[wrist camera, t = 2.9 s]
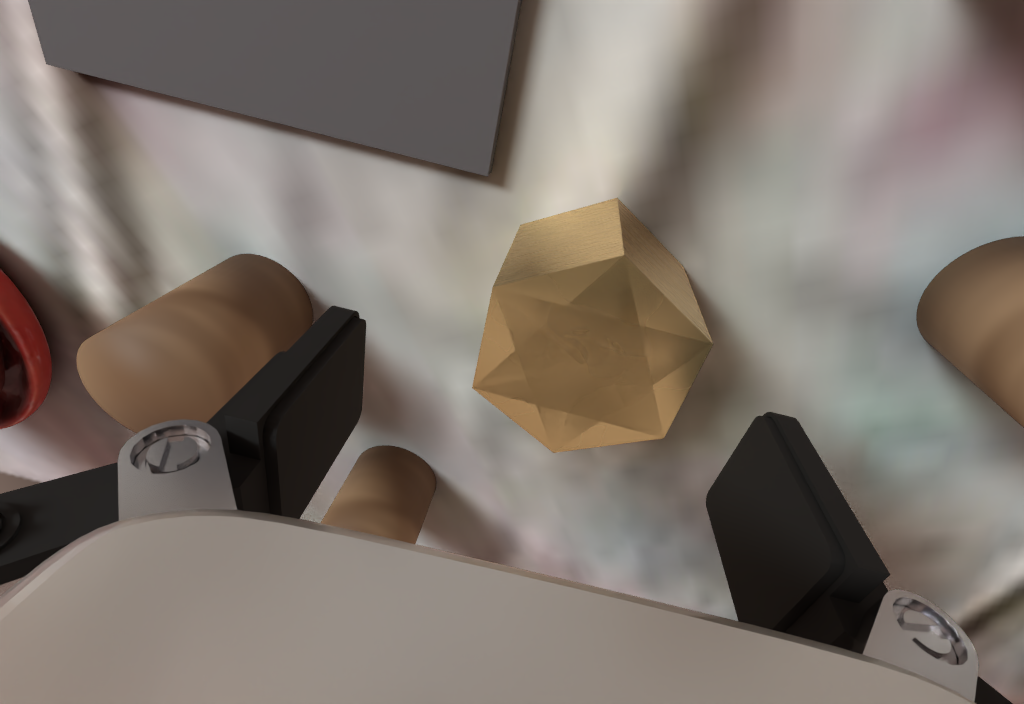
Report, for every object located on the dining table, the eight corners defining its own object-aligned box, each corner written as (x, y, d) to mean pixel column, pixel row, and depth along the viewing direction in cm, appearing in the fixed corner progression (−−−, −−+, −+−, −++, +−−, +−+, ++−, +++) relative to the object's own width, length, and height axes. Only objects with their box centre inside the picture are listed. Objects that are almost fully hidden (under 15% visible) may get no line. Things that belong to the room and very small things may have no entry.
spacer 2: (441, 458, 22) (395, 578, 17) (431, 512, 24) (388, 633, 19) (357, 436, 22) (287, 549, 17) (355, 492, 24) (292, 607, 19)
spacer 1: (311, 268, 18) (200, 354, 13) (313, 355, 20) (219, 457, 15) (208, 242, 18) (57, 317, 13) (222, 331, 20) (98, 425, 15)
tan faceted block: (531, 175, 15) (505, 224, 11) (703, 219, 15) (744, 285, 11) (494, 343, 18) (463, 429, 14) (633, 379, 18) (643, 476, 14)
